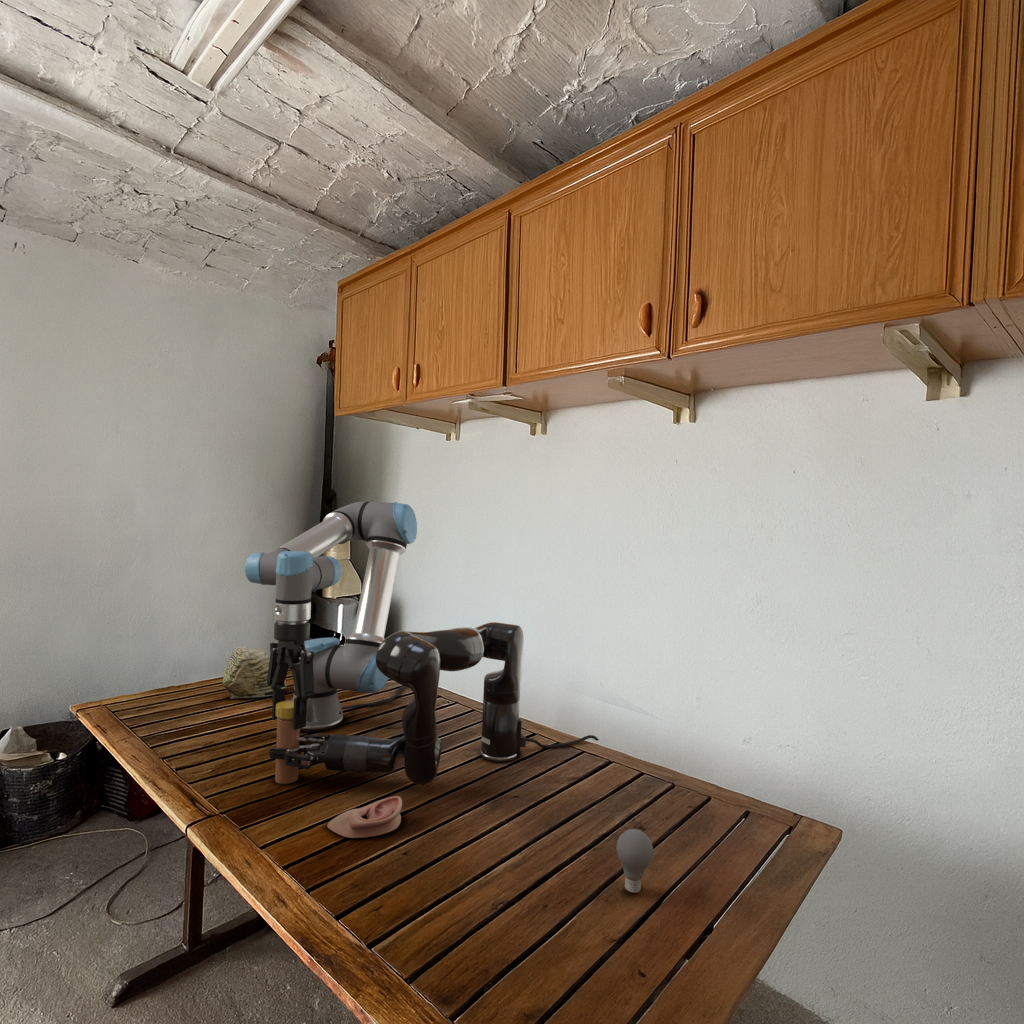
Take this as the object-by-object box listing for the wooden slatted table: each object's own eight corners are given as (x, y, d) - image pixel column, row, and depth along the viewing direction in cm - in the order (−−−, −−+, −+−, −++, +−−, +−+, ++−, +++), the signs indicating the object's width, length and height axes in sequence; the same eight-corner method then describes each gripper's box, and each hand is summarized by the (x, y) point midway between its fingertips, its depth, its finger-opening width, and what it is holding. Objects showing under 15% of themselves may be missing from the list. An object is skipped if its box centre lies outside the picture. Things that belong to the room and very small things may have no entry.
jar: (296, 783, 139) (299, 711, 139) (272, 784, 138) (275, 711, 138) (299, 773, 144) (302, 704, 144) (277, 774, 143) (279, 704, 143)
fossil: (218, 695, 195) (220, 647, 195) (278, 685, 208) (279, 640, 207) (228, 703, 189) (230, 653, 188) (289, 692, 201) (290, 645, 201)
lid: (293, 720, 138) (294, 709, 138) (270, 717, 139) (270, 706, 139) (307, 711, 143) (307, 701, 143) (284, 709, 144) (284, 699, 144)
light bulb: (610, 879, 108) (613, 822, 108) (644, 879, 109) (647, 822, 109) (619, 902, 102) (622, 840, 102) (655, 901, 103) (658, 840, 103)
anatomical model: (320, 812, 119) (347, 786, 130) (319, 833, 119) (347, 805, 130) (386, 822, 116) (408, 795, 127) (385, 844, 116) (408, 814, 128)
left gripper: (252, 616, 144) (248, 715, 145) (304, 630, 131) (300, 739, 132) (282, 612, 150) (278, 708, 150) (334, 626, 137) (330, 730, 138)
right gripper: (361, 725, 147) (289, 720, 148) (340, 749, 133) (261, 743, 134) (359, 757, 147) (288, 752, 149) (339, 784, 133) (260, 778, 134)
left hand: (288, 722), depth 141 cm, fingers open, 8 cm apart
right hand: (276, 748), depth 141 cm, fingers closed on jar, 5 cm apart
